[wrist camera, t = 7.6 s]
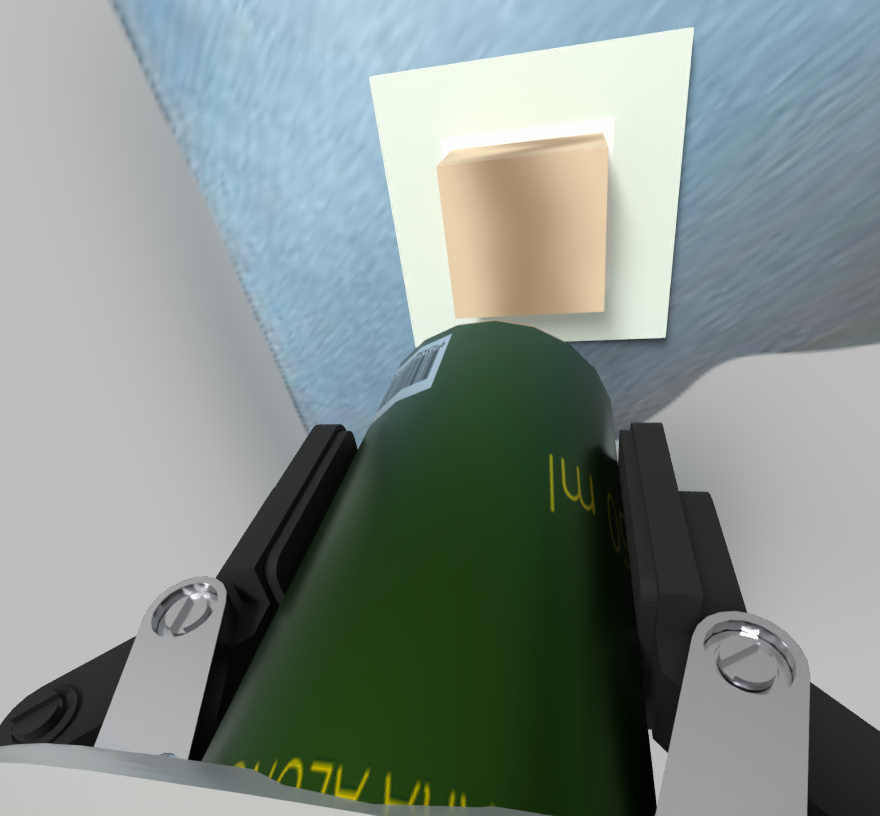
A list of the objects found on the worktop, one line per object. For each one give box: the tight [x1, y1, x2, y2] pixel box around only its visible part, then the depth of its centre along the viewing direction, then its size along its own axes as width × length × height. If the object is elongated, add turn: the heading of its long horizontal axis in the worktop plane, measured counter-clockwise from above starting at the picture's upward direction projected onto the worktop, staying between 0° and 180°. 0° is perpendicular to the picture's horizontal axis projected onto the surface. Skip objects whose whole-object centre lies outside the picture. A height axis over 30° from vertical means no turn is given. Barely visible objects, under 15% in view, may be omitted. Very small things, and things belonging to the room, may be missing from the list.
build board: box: [369, 27, 694, 347], centre depth 28 cm, size 14×14×1 cm
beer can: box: [201, 319, 657, 816], centre depth 9 cm, size 5×5×12 cm
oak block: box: [436, 133, 608, 319], centre depth 26 cm, size 7×7×4 cm
